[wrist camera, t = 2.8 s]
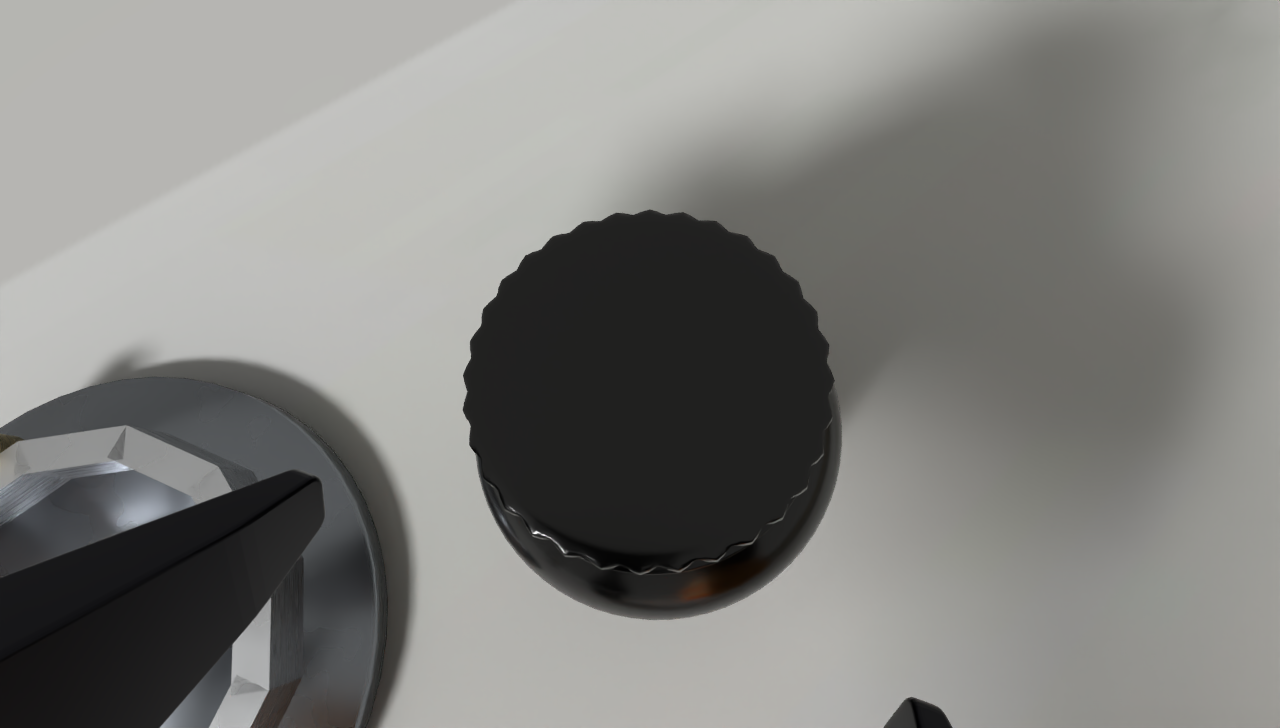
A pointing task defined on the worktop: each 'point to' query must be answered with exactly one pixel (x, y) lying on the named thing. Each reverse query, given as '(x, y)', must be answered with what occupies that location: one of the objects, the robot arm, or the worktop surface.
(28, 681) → the robot arm
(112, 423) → the seat plate
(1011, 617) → the worktop surface
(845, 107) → the worktop surface
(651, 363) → the supplement bottle
